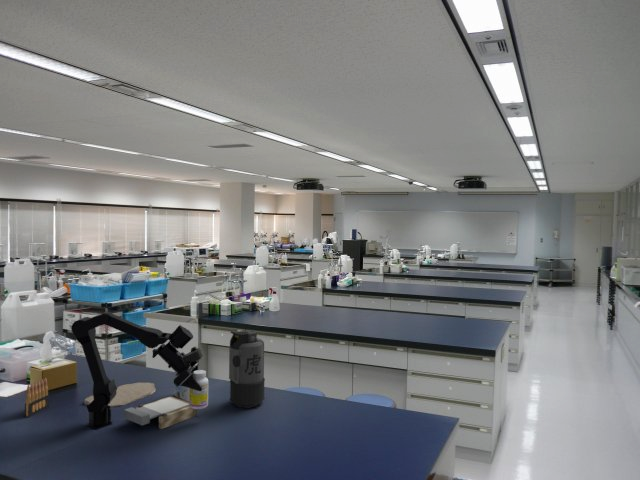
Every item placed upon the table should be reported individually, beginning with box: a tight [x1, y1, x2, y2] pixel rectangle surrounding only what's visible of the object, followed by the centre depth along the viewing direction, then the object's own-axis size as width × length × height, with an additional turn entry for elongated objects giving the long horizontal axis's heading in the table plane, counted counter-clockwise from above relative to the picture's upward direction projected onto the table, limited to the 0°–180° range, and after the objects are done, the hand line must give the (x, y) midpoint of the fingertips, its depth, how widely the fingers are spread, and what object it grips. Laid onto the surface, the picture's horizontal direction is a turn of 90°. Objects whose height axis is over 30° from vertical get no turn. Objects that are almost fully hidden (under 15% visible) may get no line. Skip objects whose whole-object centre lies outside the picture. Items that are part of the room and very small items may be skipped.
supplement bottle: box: [189, 369, 209, 410], centre depth 177 cm, size 7×7×13 cm
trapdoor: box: [123, 396, 189, 426], centre depth 179 cm, size 20×12×3 cm, turn 144°
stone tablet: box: [83, 382, 157, 408], centre depth 203 cm, size 16×30×2 cm, turn 150°
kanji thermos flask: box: [228, 329, 265, 409], centre depth 197 cm, size 14×14×30 cm
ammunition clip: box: [24, 377, 50, 418], centre depth 185 cm, size 11×2×12 cm, turn 171°
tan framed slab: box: [134, 395, 198, 430], centre depth 182 cm, size 16×16×5 cm
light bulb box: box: [174, 371, 190, 403], centre depth 204 cm, size 11×7×11 cm, turn 47°
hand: (202, 387), depth 177 cm, fingers closed on supplement bottle, 7 cm apart
